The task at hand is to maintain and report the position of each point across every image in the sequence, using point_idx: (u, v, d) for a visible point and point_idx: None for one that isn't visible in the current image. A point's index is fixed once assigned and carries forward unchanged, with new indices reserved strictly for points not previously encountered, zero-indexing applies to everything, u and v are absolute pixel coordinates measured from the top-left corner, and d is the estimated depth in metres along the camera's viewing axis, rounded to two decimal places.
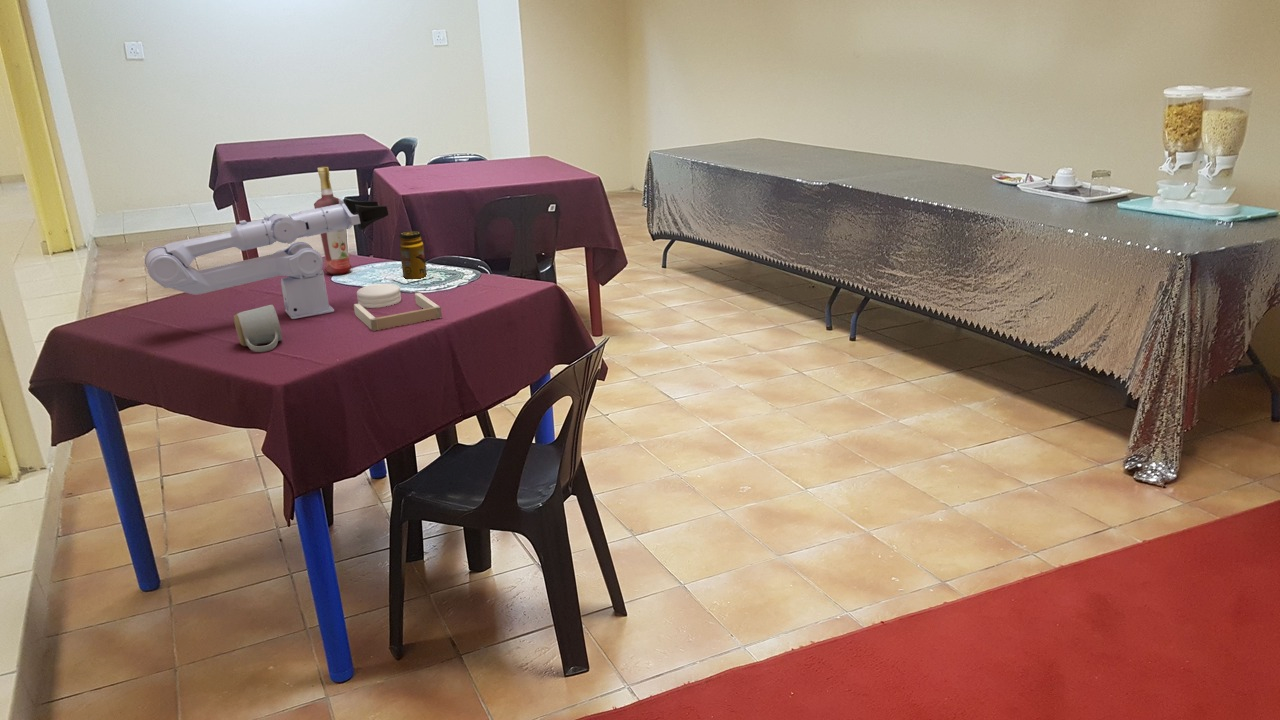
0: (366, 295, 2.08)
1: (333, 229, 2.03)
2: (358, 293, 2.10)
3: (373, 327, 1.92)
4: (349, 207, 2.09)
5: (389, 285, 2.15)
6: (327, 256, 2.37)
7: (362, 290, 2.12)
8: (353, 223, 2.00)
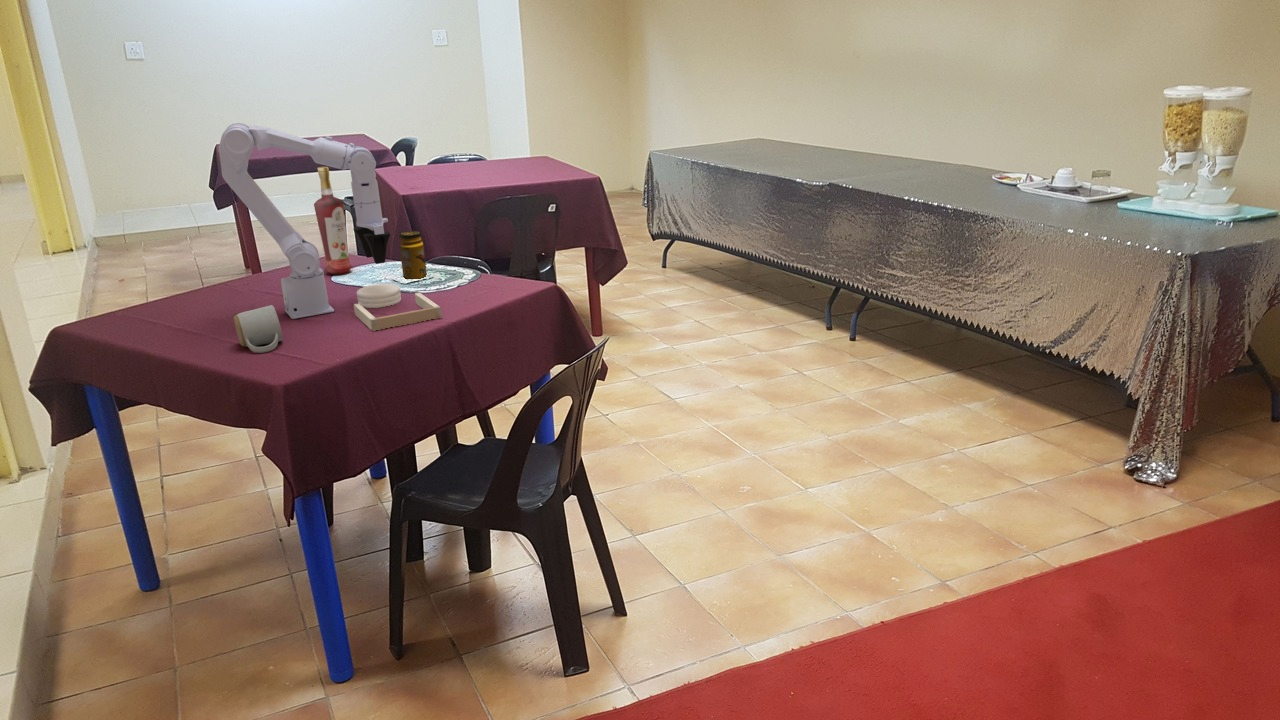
0: (366, 295, 2.08)
1: (360, 209, 2.02)
2: (358, 293, 2.10)
3: (373, 327, 1.92)
4: None
5: (389, 285, 2.15)
6: (327, 256, 2.37)
7: (362, 290, 2.12)
8: (376, 227, 2.00)
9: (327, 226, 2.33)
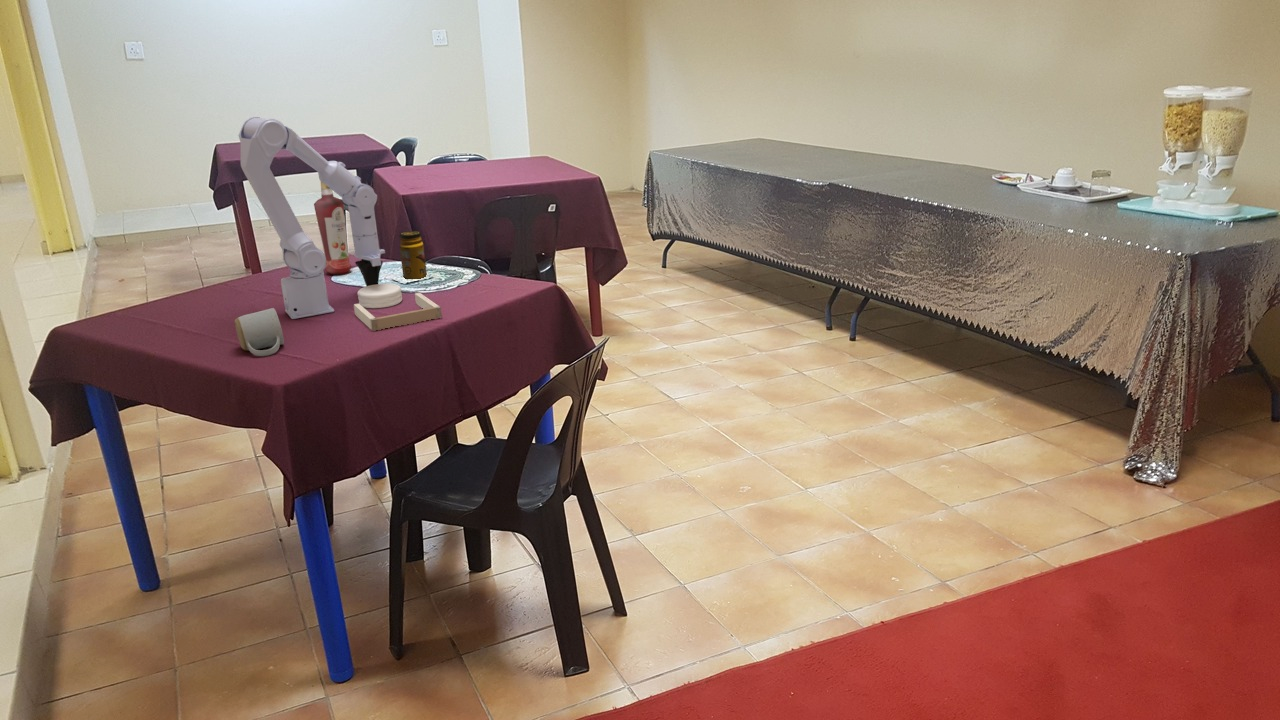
0: (367, 295, 2.07)
1: (358, 241, 2.10)
2: (359, 293, 2.09)
3: (373, 327, 1.92)
4: None
5: (390, 285, 2.14)
6: (327, 256, 2.37)
7: (363, 290, 2.11)
8: (373, 259, 2.08)
9: (327, 226, 2.33)
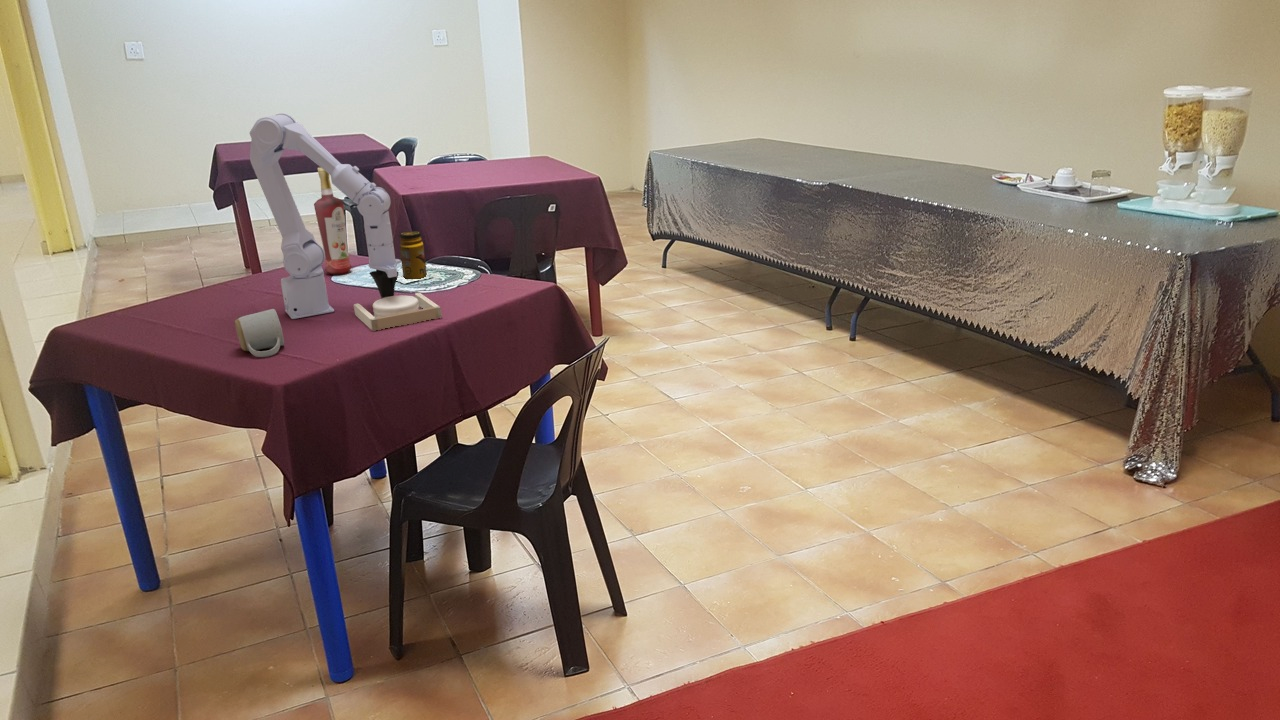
0: (383, 308, 1.97)
1: (373, 251, 2.00)
2: (374, 306, 1.99)
3: (373, 327, 1.92)
4: None
5: (406, 297, 2.04)
6: (327, 256, 2.37)
7: (378, 302, 2.01)
8: (389, 270, 1.97)
9: (327, 226, 2.33)
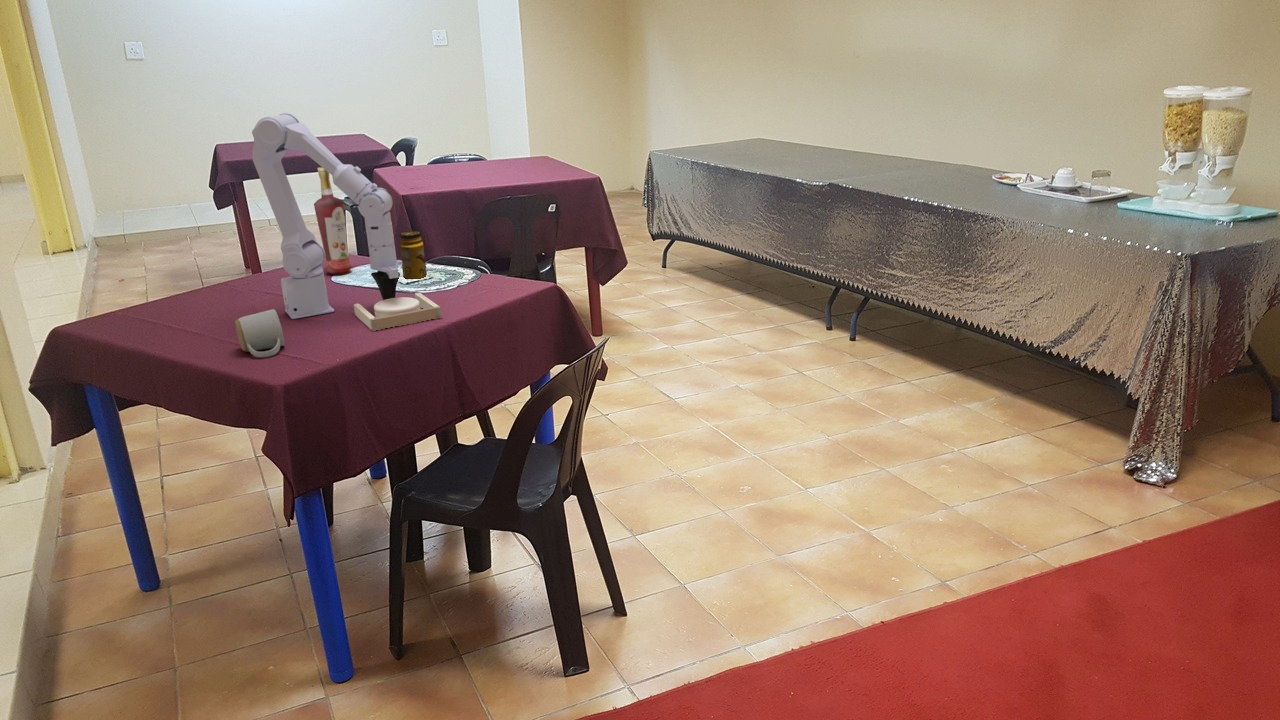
0: (385, 310, 1.96)
1: (374, 252, 1.99)
2: (376, 308, 1.98)
3: (373, 327, 1.92)
4: None
5: (407, 299, 2.03)
6: (327, 256, 2.37)
7: (379, 304, 2.00)
8: (390, 271, 1.97)
9: (327, 226, 2.33)
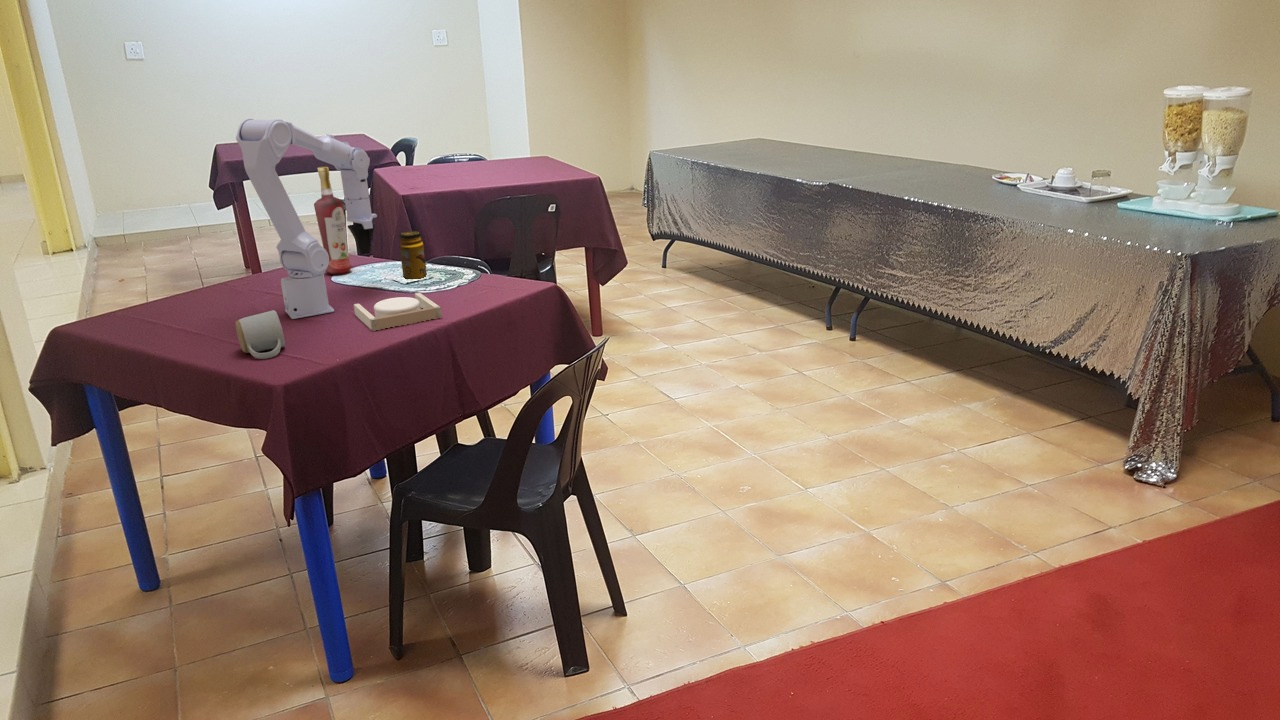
0: (385, 310, 1.96)
1: (350, 205, 2.13)
2: (376, 308, 1.98)
3: (373, 327, 1.92)
4: None
5: (407, 299, 2.03)
6: None
7: (379, 304, 2.00)
8: (365, 222, 2.11)
9: (327, 226, 2.33)
